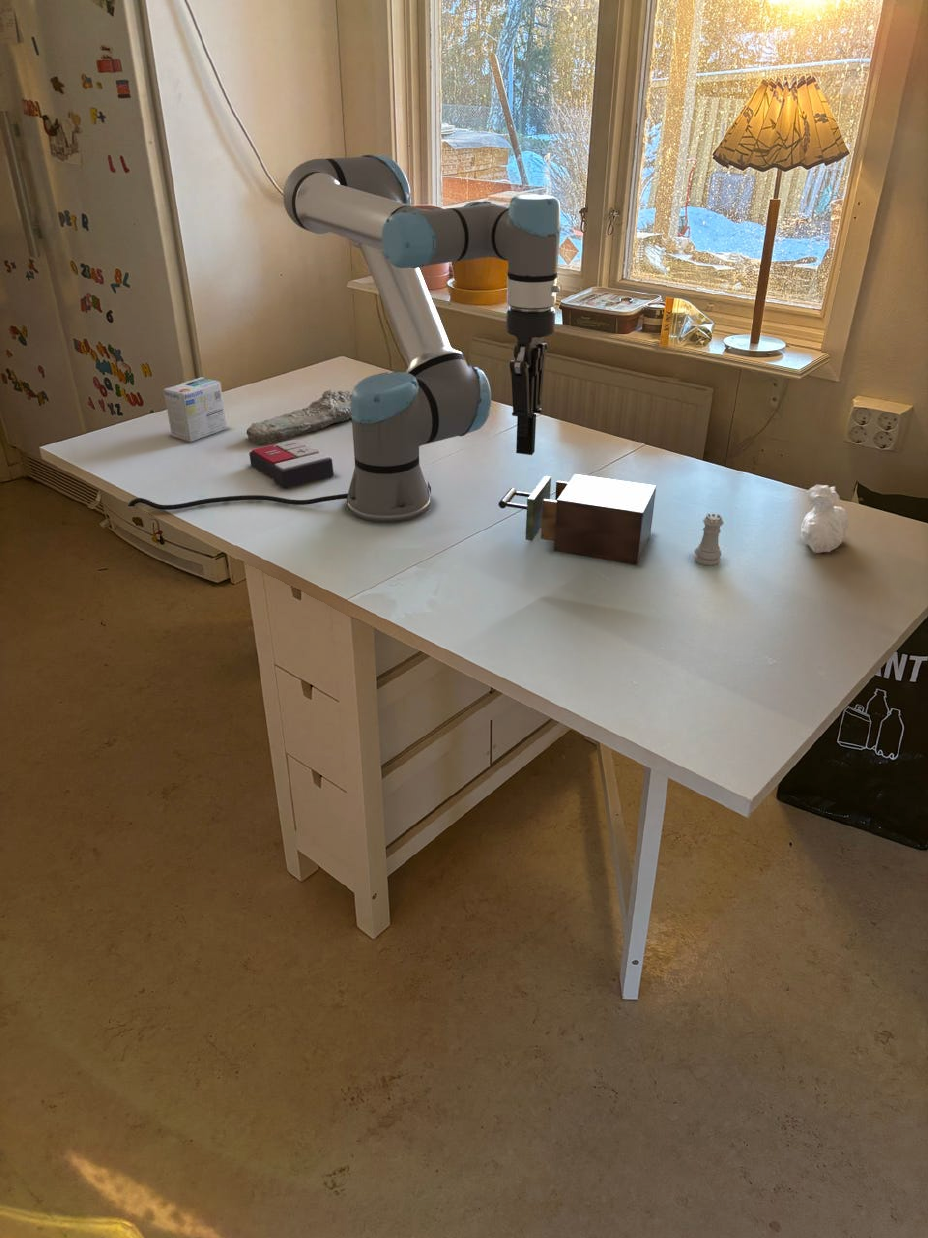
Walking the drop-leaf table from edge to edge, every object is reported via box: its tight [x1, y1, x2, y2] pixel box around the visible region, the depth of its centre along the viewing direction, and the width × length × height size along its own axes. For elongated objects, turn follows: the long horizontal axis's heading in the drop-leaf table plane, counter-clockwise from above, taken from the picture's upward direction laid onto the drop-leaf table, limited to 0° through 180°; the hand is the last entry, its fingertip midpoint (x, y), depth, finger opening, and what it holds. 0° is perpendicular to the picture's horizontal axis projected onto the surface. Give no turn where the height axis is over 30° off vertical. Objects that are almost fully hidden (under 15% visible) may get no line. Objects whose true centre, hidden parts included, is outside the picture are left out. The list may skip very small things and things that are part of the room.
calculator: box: [249, 439, 335, 490], centre depth 180 cm, size 11×4×15 cm
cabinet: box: [553, 473, 657, 566], centre depth 152 cm, size 14×12×9 cm
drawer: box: [497, 475, 570, 542], centre depth 155 cm, size 19×10×8 cm, turn 69°
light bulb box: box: [163, 377, 228, 443], centre depth 197 cm, size 11×7×11 cm, turn 144°
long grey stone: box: [246, 389, 352, 446], centre depth 204 cm, size 35×5×10 cm
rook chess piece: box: [693, 512, 724, 567], centre depth 147 cm, size 4×4×8 cm
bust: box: [800, 484, 849, 554], centre depth 153 cm, size 12×8×11 cm
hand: (525, 452), depth 151 cm, fingers closed
